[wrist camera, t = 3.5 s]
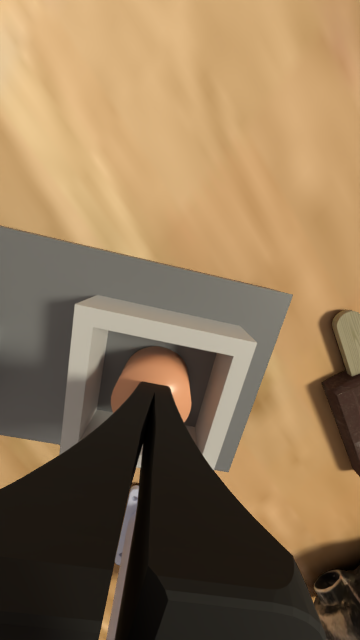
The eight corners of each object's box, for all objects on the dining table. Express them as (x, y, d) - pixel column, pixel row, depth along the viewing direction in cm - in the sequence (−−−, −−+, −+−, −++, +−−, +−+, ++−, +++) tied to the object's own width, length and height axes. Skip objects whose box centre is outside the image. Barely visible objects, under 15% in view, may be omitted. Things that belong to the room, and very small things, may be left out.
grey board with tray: (219, 436, 17) (239, 515, 12) (-105, 379, 15) (-258, 442, 10) (268, 288, 14) (325, 303, 9) (-129, 195, 12) (-368, 142, 7)
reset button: (180, 409, 12) (181, 442, 10) (119, 397, 12) (105, 429, 10) (195, 353, 12) (200, 376, 9) (129, 340, 11) (117, 360, 9)
